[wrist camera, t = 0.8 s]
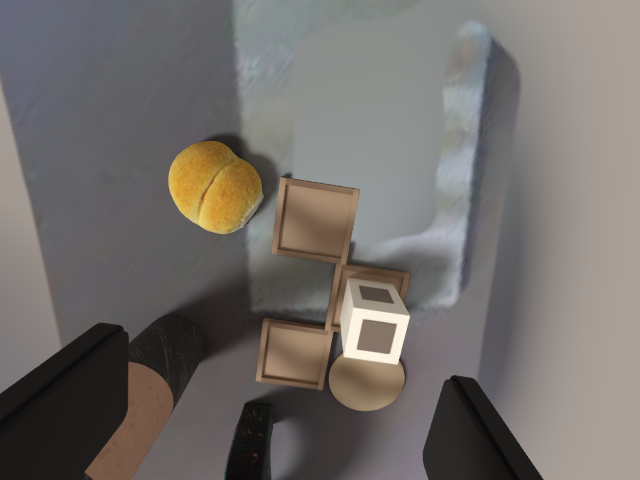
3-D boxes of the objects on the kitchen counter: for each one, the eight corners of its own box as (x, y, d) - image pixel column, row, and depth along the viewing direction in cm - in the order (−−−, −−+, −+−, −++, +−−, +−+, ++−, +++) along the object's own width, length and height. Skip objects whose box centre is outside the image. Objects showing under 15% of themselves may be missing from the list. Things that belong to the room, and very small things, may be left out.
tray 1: (281, 176, 32) (280, 177, 31) (359, 189, 32) (360, 190, 31) (272, 251, 34) (271, 253, 33) (345, 262, 34) (345, 265, 33)
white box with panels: (348, 276, 34) (353, 306, 27) (393, 283, 34) (410, 315, 27) (339, 318, 35) (343, 357, 28) (383, 324, 35) (397, 365, 29)
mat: (335, 339, 37) (335, 341, 36) (411, 350, 37) (412, 352, 36) (323, 403, 39) (323, 405, 38) (394, 413, 39) (395, 415, 39)
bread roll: (202, 126, 31) (185, 122, 27) (276, 182, 32) (270, 185, 28) (160, 193, 33) (138, 198, 29) (232, 243, 34) (221, 255, 30)
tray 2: (264, 317, 36) (262, 321, 35) (333, 327, 36) (333, 331, 35) (257, 376, 38) (255, 381, 37) (322, 385, 38) (322, 390, 37)
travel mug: (171, 300, 36) (-10, 473, 16) (221, 345, 37) (108, 553, 18) (129, 340, 37) (-85, 543, 18) (178, 382, 38) (30, 611, 19)
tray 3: (336, 261, 34) (336, 263, 33) (408, 272, 34) (410, 274, 33) (324, 326, 36) (324, 330, 35) (393, 336, 36) (394, 340, 36)
